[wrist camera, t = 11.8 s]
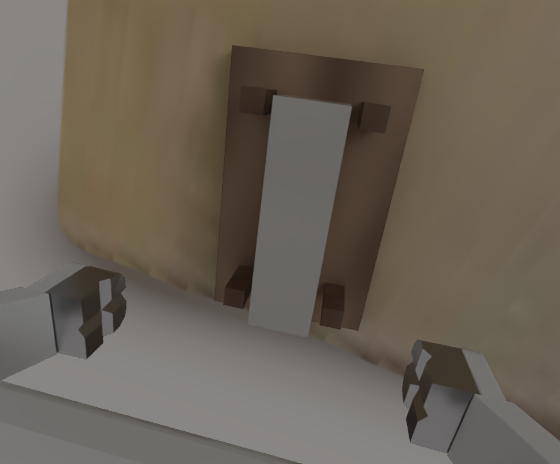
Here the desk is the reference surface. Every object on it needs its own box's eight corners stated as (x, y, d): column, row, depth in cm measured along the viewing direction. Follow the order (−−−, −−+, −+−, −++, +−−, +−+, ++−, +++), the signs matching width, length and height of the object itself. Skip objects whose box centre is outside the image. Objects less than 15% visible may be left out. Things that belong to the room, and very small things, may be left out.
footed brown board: (418, 71, 19) (438, 64, 15) (357, 317, 25) (359, 361, 21) (239, 48, 21) (212, 36, 16) (221, 289, 27) (198, 325, 22)
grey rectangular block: (351, 104, 19) (352, 106, 15) (314, 296, 24) (307, 337, 20) (288, 95, 20) (273, 95, 16) (264, 286, 24) (247, 324, 20)
